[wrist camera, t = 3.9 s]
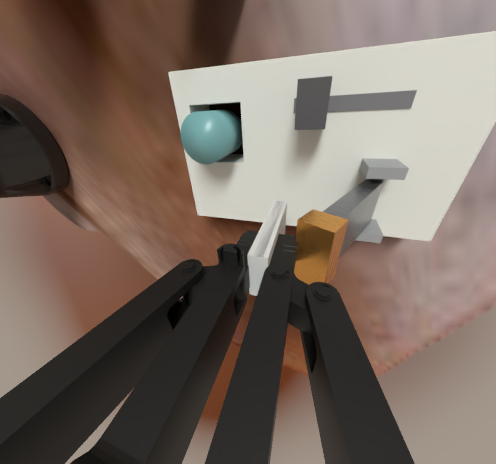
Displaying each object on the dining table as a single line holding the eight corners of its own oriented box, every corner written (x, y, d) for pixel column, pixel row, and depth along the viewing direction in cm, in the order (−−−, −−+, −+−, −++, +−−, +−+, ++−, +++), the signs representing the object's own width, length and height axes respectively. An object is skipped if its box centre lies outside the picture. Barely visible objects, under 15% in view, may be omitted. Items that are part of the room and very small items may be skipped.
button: (211, 152, 22) (186, 163, 18) (205, 110, 20) (175, 112, 16) (245, 153, 21) (226, 165, 17) (242, 108, 19) (221, 110, 15)
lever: (354, 214, 19) (292, 275, 12) (366, 172, 16) (297, 219, 10) (378, 221, 17) (321, 291, 11) (394, 176, 15) (335, 232, 9)
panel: (212, 202, 28) (185, 226, 22) (192, 76, 20) (144, 67, 15) (414, 220, 21) (445, 261, 16) (495, 42, 14) (610, 2, 8)
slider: (298, 125, 16) (294, 130, 14) (301, 82, 15) (297, 79, 12) (324, 125, 15) (324, 129, 13) (331, 80, 14) (332, 75, 12)
